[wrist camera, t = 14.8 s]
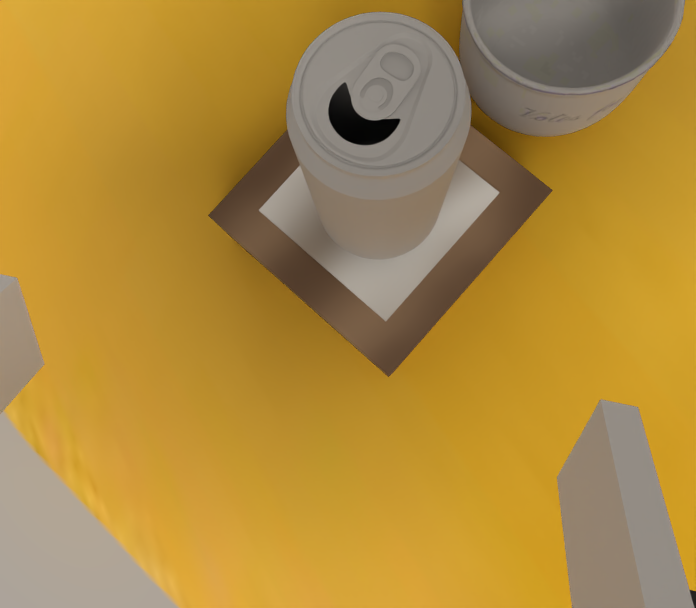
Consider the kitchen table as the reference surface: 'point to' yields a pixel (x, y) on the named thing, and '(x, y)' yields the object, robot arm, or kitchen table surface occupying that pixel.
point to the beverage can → (378, 130)
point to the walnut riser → (380, 274)
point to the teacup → (560, 57)
